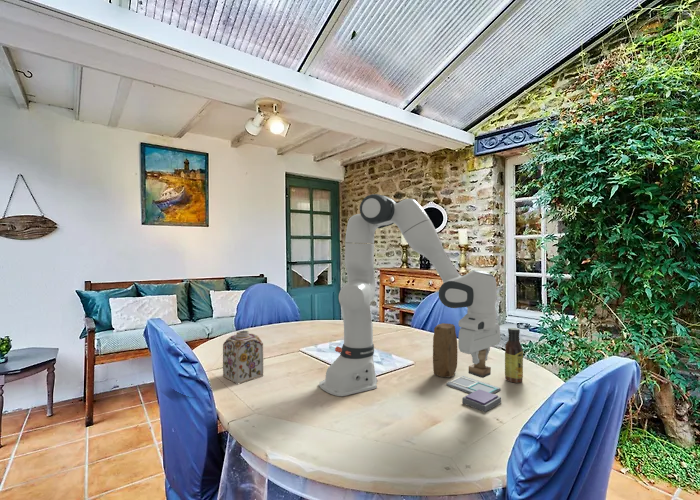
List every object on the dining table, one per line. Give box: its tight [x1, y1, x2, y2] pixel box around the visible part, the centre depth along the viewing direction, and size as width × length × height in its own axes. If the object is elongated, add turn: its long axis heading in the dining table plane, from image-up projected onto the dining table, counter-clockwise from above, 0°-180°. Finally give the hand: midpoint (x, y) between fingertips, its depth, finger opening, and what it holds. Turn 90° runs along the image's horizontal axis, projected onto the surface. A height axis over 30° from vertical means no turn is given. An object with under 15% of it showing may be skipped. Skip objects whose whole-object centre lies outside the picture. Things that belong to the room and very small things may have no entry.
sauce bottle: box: [504, 327, 524, 384], centre depth 132 cm, size 6×6×20 cm
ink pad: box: [462, 389, 502, 413], centre depth 114 cm, size 10×8×2 cm
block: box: [432, 322, 458, 378], centre depth 139 cm, size 11×8×20 cm
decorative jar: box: [222, 330, 264, 385], centre depth 137 cm, size 12×12×18 cm
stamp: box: [468, 349, 492, 379], centre depth 114 cm, size 5×5×8 cm
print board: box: [446, 375, 501, 394], centre depth 126 cm, size 11×15×1 cm
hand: (479, 361), depth 114 cm, fingers closed on stamp, 3 cm apart
